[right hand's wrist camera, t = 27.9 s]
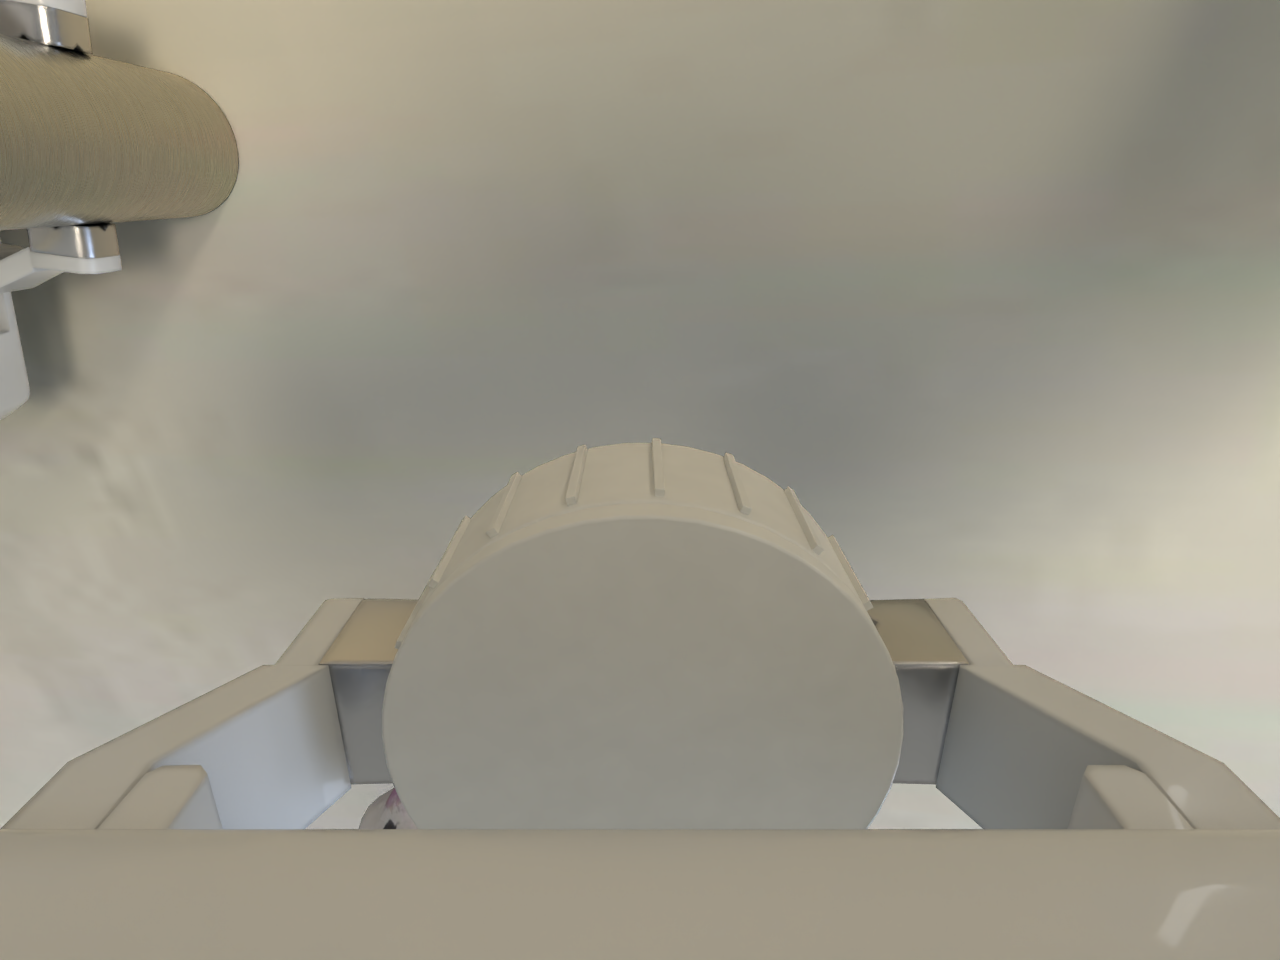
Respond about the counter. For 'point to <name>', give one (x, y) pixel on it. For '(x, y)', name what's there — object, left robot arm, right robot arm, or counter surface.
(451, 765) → the lid
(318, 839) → the right robot arm
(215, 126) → the jar
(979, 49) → the counter surface
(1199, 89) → the counter surface
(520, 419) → the counter surface
